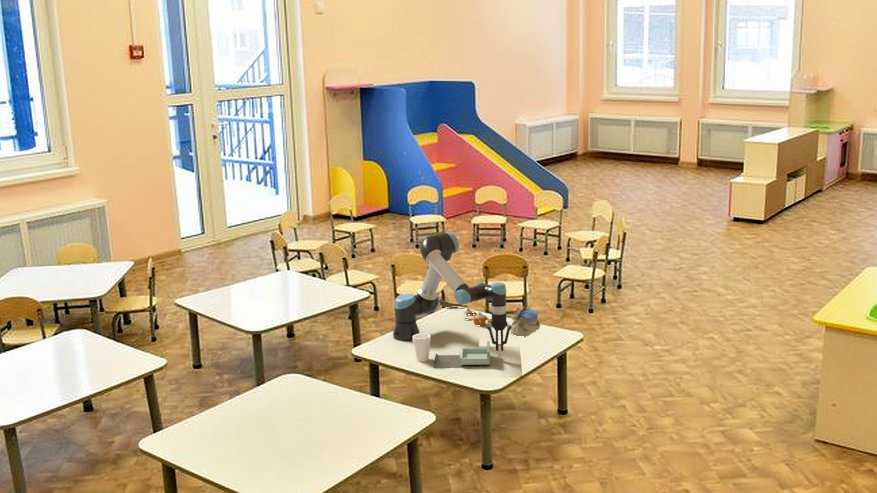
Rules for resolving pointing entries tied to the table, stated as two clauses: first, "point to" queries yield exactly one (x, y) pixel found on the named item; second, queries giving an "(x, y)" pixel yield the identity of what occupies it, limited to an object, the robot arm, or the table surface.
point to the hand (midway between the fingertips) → (499, 356)
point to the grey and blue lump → (525, 322)
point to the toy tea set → (478, 318)
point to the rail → (451, 362)
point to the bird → (449, 304)
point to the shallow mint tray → (475, 355)
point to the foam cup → (422, 346)
